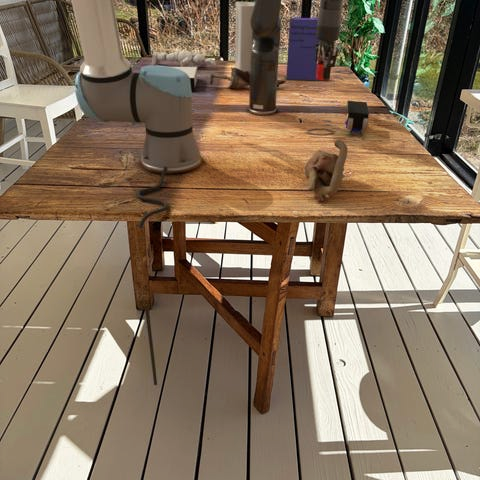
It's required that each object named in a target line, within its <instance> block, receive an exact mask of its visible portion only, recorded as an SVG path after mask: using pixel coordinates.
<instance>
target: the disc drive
mask: <svg viewBox="0 0 480 480" xmlns="http://www.w3.org/2000/svg"><path fill="white" fill-rule="evenodd" d="M172 67H173V68H176V69H179V70H182V71H184V72H185V73H186V74H187V75H188V76H189V78H190V83H191V91H192V92H196V85H197V81H198V67H194V66H183V67H181V66H172Z"/></svg>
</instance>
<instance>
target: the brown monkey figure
mask: <svg viewBox="0 0 480 480" xmlns="http://www.w3.org/2000/svg"><path fill="white" fill-rule="evenodd" d="M334 147H335V148H336V149H338V150H339V152H338V155H337V154H336V153H329V152H325V151H323V150H321V149H319V150H317V151H316V152H314V153H313V155H312V156H311V157H310V158H309V159H308V160H307V162H306V163H305V165H304V169H303V172H304V175H305V177H306V178H307V179H308V191H312V192H313V199H314V200H316V201H319V200H320V201H321V202H324V201H325V200H329V198H330V196H332V195H335V194H336V193H337V192H338V191H339V190H340V188H341V185H342V183H343V174H344V171H345V164H346V161H347V158H348V153H349V151H348V149H349V148H348V146H347V144H346V143H345V142H344V141H343V140H341V139H336V140H335V141H334Z"/></svg>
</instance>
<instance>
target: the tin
mask: <svg viewBox="0 0 480 480" xmlns="http://www.w3.org/2000/svg"><path fill="white" fill-rule="evenodd" d="M323 73H324V64H319V65H317V73H316V79H318V80H317V81H320V80H324V79H323ZM331 73H332V70H331V71H330V75H331ZM330 79H331V78H330ZM330 79H328V80H327V81H330Z"/></svg>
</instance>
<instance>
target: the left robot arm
mask: <svg viewBox="0 0 480 480" xmlns="http://www.w3.org/2000/svg"><path fill="white" fill-rule="evenodd" d="M70 1H71V6H72V10H73V15H74V19H75V23H76V28H77V32H78V37H79V41H80V45H81V50H82V55H83V59H84V61H83V62H82V63H81V64H80V66H79V72H78V73H77V74H76V76H75V79H74V87H75V90H74V91H75V92H74V93H75V98H76V101H77V104H78V106H79V109H80V110H81V112H82V113H83V114H84V116H85V117H87V118H88V119H90V120H93V121H99V122H104V123H110V122H115V123H140V124H141V123H142V124H144V127H145V138H144V142H143V146H142V150H141V154H140V162H141V166H142V168H144V169H145V170H146V171H149V172H151V173H156V174H161V175H160V181H159V183H158V184H156V185H155V186H152V187H147V188H143V189H140V190H138V191H137V192H136V197H137V198H138V199H139V200H142V201H145V202H151V203H157V204H161V205H163V207H161V208H157V209H154V210H152V211H149V212H147V213H146V214H144V215H143V216H142V218H141V219H140V222H139V224H138V229H142V228H143V227H144V224H145V223H146V221H147V219H148V218H150V217H151V216H153V215H156V214H160V213H162V212H165V211H167V210H168V209H169V204H168V203H167V202H166V201H164V200H162V199H159V198H155V197H154V198H153V197H147V196H144V195H142V194H143V193H144V194H145V193H148V192H152V191H156V190H158V189H160V188H161V187H162V186H163V184H164V181H165V176H166V175H169V174H170V175H172V174H173V175H175V174H182V173H187V172H190V171H193V170H195V169H197V168H198V167H199V166H201V163H202V155H201V151H200V149H199V146H198V143H197V141H196V137H195V135H194V130H193V129H194V126H193V99H192V98H193V97H192V96H193V91H191V83H190V78H189V76H188V75H187V74H186V73H185V72H184V71H182V70H179V69H176V68H173V67H174V66H166V65H159V64H158V65H155V66H153V65H152V64H150V65H149V64H148V65H144V66H142V67H141V68H140V70H139V72H134V71H133V70H132V64H131V61H130V60H129V59H127V58H126V57H125V56H124V55H123V50H122V44H121V38H120V32H119V26H118V21H117V15H116V9H115V3H114V0H70ZM147 2H148V3H159V0H147ZM144 311H145V319H146V320H145V321H146V327H147V336H148V343H149V344H148V345H149V351H150V352H149V353H150V354H149V355H150V361H151V369H152V370H151V371H152V379H153V380H152V381H153V386H157V385H158V379H157V369H156V359H155V351H154V341H153V334H152V326H151V325H152V324H151V317H150V308H149V306H145V307H144Z"/></svg>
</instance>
